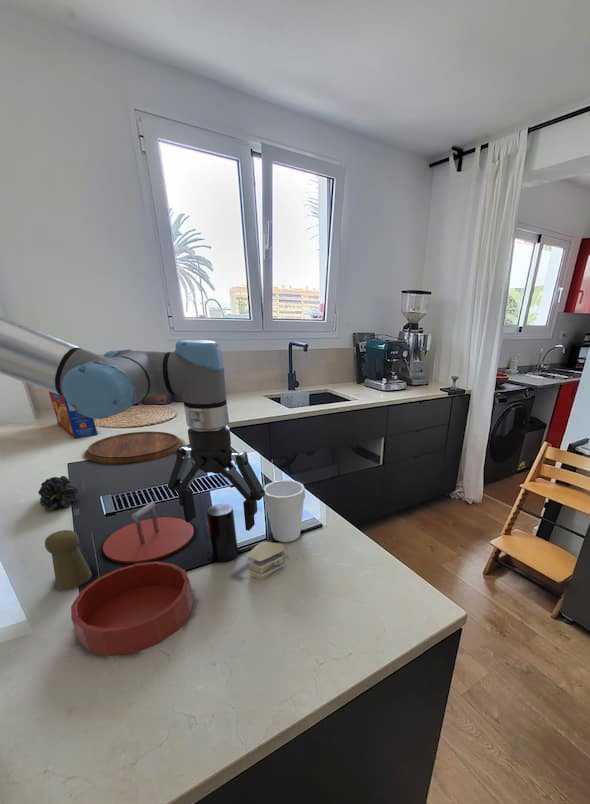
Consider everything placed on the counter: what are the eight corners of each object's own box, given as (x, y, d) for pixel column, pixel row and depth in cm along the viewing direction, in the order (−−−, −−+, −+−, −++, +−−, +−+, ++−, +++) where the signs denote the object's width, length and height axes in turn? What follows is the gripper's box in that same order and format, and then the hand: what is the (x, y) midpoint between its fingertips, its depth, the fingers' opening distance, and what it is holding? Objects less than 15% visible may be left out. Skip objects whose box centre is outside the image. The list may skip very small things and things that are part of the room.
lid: (83, 559, 85) (71, 523, 81) (142, 517, 101) (135, 486, 98) (161, 571, 82) (153, 534, 78) (209, 526, 99) (204, 494, 95)
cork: (81, 568, 82) (66, 523, 77) (99, 577, 79) (85, 530, 75) (49, 585, 77) (32, 537, 72) (68, 595, 74) (51, 546, 70)
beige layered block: (268, 593, 76) (266, 570, 74) (234, 578, 80) (231, 555, 78) (299, 566, 84) (298, 545, 82) (267, 554, 88) (265, 533, 86)
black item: (209, 562, 85) (201, 514, 80) (221, 549, 89) (214, 502, 84) (231, 565, 84) (225, 517, 79) (242, 552, 89) (237, 505, 84)
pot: (53, 647, 63) (42, 621, 61) (130, 579, 79) (124, 556, 77) (151, 666, 60) (144, 639, 58) (211, 592, 76) (207, 568, 74)
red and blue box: (58, 424, 174) (39, 358, 163) (79, 420, 180) (62, 357, 168) (74, 438, 157) (54, 367, 145) (97, 434, 162) (79, 365, 151)
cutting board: (77, 470, 128) (75, 463, 127) (93, 441, 154) (91, 435, 153) (183, 458, 140) (182, 452, 139) (181, 433, 167) (180, 427, 166)
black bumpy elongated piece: (40, 464, 108) (40, 482, 97) (77, 467, 114) (81, 484, 103) (37, 493, 110) (36, 514, 99) (73, 495, 115) (76, 515, 104)
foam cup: (298, 550, 90) (296, 499, 85) (260, 545, 91) (256, 495, 86) (310, 529, 99) (309, 482, 93) (275, 524, 100) (272, 478, 95)
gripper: (136, 425, 73) (155, 524, 82) (262, 438, 69) (268, 540, 78) (161, 416, 80) (177, 508, 88) (278, 426, 76) (282, 521, 85)
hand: (220, 523), depth 83 cm, fingers open, 13 cm apart
